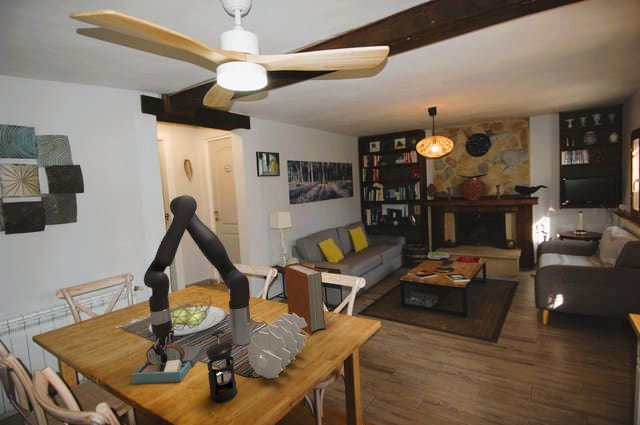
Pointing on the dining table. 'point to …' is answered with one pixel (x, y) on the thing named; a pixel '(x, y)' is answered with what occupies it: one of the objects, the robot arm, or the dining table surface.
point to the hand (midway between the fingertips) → (166, 360)
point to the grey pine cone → (276, 345)
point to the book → (305, 295)
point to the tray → (160, 375)
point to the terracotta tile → (152, 368)
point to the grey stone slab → (190, 355)
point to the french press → (221, 371)
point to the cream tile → (173, 366)
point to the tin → (172, 353)
